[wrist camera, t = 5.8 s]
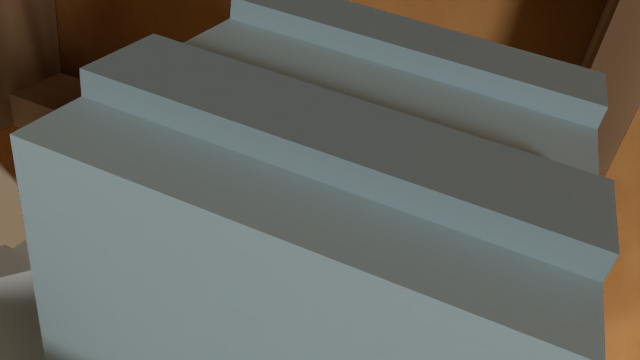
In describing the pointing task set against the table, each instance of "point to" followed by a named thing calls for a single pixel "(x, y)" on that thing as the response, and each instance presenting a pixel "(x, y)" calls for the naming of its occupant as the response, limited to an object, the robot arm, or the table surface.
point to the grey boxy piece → (320, 196)
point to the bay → (60, 89)
